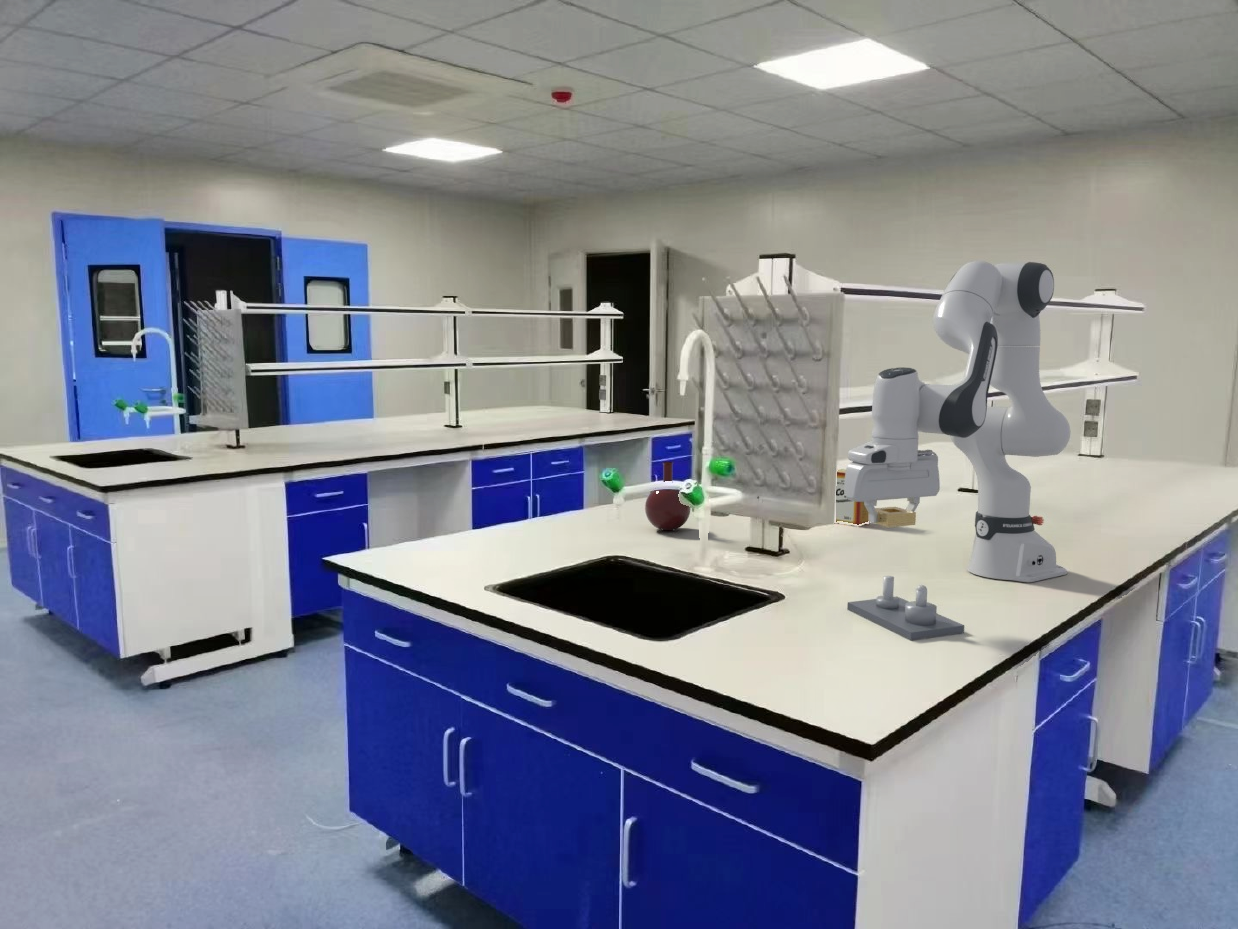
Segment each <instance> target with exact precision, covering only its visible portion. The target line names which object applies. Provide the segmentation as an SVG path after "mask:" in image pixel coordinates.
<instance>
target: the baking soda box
mask: <svg viewBox="0 0 1238 929" xmlns="http://www.w3.org/2000/svg"><path fill="white" fill-rule="evenodd" d="M837 470H838V471H837V486H836V522H837V521H843V522H848V523H853V524H857V525H859V524H862V523H865V522H868V511H867V509H866V507H865V505H864V501H863V502H855V501H851V500H848V499H847V498H846V496H845V494H844V482H845V473H846V469H844V468H842V469H837Z"/></svg>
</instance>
